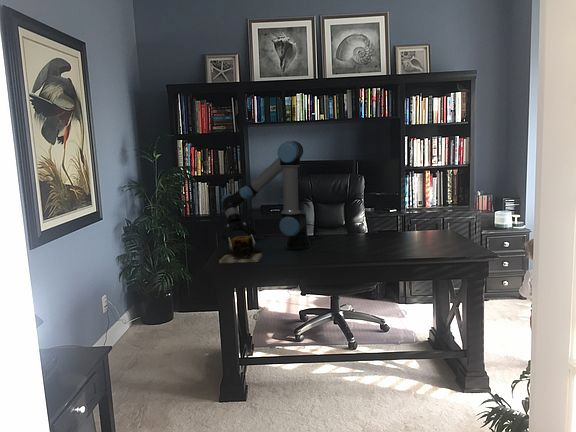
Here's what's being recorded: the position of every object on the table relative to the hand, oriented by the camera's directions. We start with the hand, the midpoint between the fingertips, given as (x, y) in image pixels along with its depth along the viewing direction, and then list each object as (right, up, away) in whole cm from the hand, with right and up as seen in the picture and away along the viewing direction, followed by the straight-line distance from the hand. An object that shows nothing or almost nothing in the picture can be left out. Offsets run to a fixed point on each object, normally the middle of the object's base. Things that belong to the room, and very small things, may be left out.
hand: (242, 246), depth 280 cm
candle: (0, -5, 0) cm, 5 cm away
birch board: (-1, -8, +3) cm, 8 cm away
